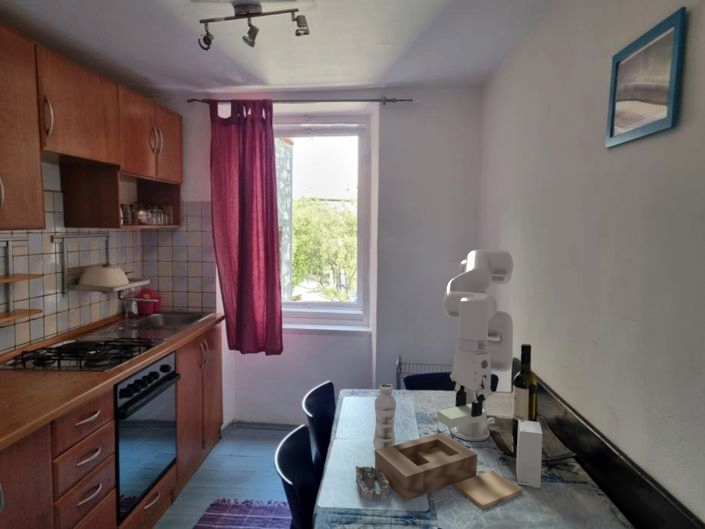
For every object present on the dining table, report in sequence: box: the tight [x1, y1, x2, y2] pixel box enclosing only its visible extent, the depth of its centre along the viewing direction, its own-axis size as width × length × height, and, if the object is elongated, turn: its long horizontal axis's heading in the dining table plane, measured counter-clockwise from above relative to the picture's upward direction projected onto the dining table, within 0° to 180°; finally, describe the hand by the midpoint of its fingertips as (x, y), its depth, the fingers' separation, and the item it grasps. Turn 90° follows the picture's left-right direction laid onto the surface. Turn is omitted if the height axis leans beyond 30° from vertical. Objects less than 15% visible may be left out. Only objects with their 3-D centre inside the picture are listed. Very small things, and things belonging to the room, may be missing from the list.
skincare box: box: [515, 419, 544, 489], centre depth 119 cm, size 8×6×15 cm
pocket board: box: [374, 432, 478, 502], centre depth 120 cm, size 24×14×6 cm, turn 119°
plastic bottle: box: [372, 383, 397, 450], centre depth 132 cm, size 6×7×20 cm
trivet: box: [453, 470, 523, 510], centre depth 114 cm, size 14×10×1 cm
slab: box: [436, 404, 488, 429], centre depth 116 cm, size 12×5×2 cm, turn 117°
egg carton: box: [355, 465, 390, 502], centre depth 114 cm, size 11×8×4 cm
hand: (468, 410), depth 116 cm, fingers closed on slab, 5 cm apart
